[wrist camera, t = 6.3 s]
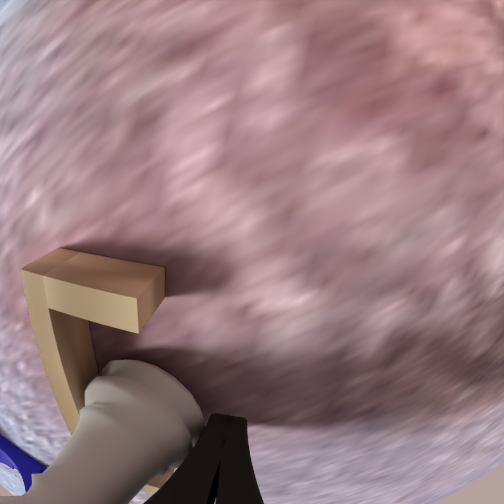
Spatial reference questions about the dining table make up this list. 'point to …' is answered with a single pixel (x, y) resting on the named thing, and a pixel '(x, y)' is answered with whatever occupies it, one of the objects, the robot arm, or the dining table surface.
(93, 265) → the wooden bracket
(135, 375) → the rook chess piece
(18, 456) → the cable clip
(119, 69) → the dining table surface
